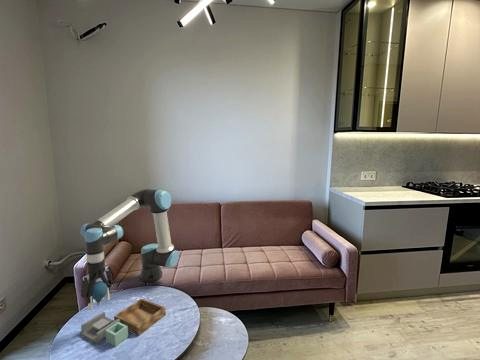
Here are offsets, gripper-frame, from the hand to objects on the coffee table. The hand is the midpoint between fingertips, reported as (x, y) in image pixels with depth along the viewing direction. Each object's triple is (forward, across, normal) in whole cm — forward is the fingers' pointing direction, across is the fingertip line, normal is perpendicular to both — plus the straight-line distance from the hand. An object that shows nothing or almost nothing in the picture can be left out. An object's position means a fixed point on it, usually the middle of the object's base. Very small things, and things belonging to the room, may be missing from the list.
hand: (99, 303), depth 136 cm
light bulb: (+1, 0, 0) cm, 1 cm away
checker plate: (+12, 0, 0) cm, 12 cm away
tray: (+15, -16, +10) cm, 24 cm away
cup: (+15, 0, +12) cm, 19 cm away
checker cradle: (+15, 0, 0) cm, 15 cm away
